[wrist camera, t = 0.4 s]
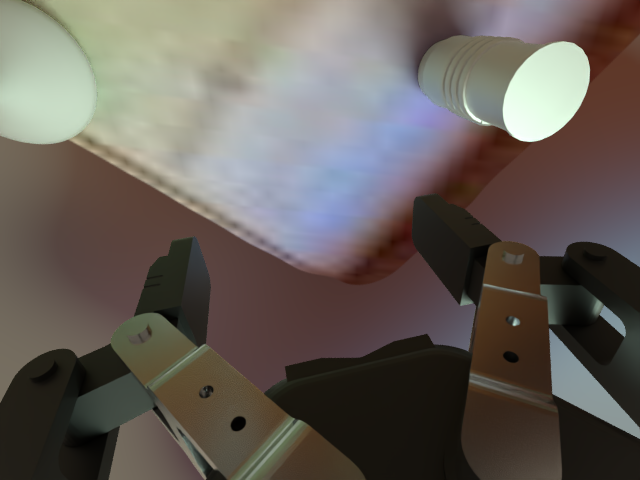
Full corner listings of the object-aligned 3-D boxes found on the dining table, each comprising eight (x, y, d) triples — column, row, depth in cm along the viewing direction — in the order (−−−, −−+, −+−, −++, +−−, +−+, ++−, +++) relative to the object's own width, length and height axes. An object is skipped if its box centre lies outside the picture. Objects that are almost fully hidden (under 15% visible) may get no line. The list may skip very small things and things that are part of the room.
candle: (409, 105, 39) (490, 145, 27) (419, 33, 36) (519, 40, 23) (465, 104, 41) (568, 141, 28) (480, 34, 37) (606, 40, 25)
